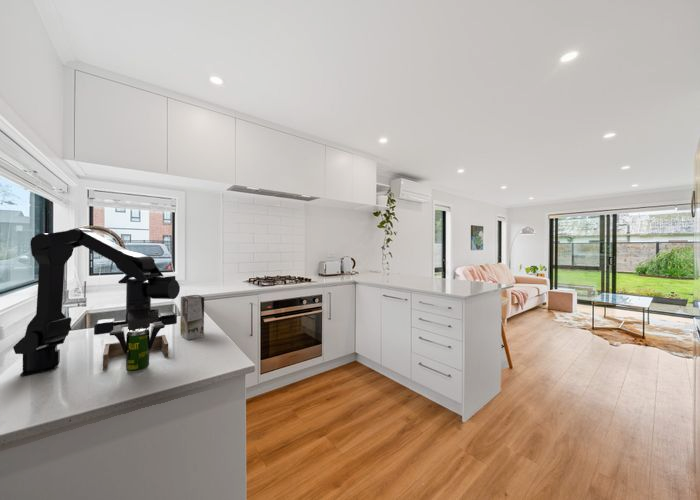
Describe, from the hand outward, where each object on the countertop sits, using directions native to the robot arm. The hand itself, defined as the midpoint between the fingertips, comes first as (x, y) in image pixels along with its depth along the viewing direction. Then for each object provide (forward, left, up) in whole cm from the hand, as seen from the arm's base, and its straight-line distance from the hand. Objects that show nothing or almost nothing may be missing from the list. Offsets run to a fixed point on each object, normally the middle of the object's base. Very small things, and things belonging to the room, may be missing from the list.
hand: (137, 351), depth 79 cm
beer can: (0, 0, -6) cm, 6 cm away
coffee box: (+18, +25, -6) cm, 31 cm away
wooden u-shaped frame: (0, +11, -6) cm, 13 cm away
